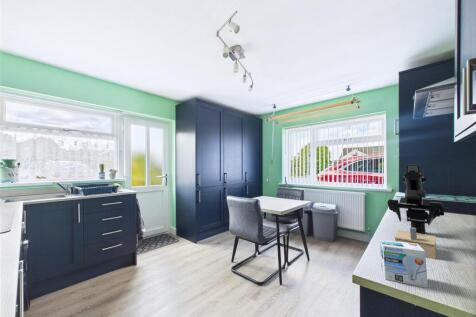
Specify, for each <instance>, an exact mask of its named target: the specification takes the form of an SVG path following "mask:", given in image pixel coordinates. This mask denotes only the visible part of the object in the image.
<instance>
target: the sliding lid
mask: <svg viewBox="0 0 476 317" xmlns="http://www.w3.org/2000/svg"><path fill="white" fill-rule="evenodd" d="M395 238H396V239H402V240H407V241H413V242H418V243H424V244H429V245H435V242H436V241H437V237H436V235H432V234H427V235H426V234H420V233H416V228H413V227H411V226H410V228H409V231H407V230H406V231H405V230H401V229H399V230H398V231H397V232H396V233H395V235H394V238H393V239H395ZM436 243H437V242H436Z"/></svg>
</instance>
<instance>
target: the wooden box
mask: <svg viewBox="0 0 476 317" xmlns="http://www.w3.org/2000/svg"><path fill="white" fill-rule="evenodd" d="M394 239H395V240H394V241H397V242H406V243H415V244H418V245H419V246H420V247H421V248H422V249H423V250H424V251H425V254H426V258H429V259H434V260H436V259H437V242H435V245H429V244H424V243H418V242H413V241H407V240H402V239H396V238H394Z"/></svg>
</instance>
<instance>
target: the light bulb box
mask: <svg viewBox="0 0 476 317" xmlns="http://www.w3.org/2000/svg"><path fill="white" fill-rule="evenodd" d="M379 246H380V247H379V248H380V261H381V262H380V264H381V272H382V274H383V277H384V279H385V280H386V281H392V282H398V283H402V284H407V285H411V286H416V287H422V288H426V289H428V288H429V286H428V284H429V283H428V272H427V271H428V269H427V259H426V258H427V257H426V254H425V251H424V250H423V249H422V248H421V247H420V246H419V245H418V244H415V243H406V242H397V241H395V240H387V239H379Z"/></svg>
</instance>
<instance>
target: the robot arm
mask: <svg viewBox="0 0 476 317" xmlns="http://www.w3.org/2000/svg"><path fill="white" fill-rule="evenodd" d="M403 173H404V176H403V177H402V181H403V183H404V184H405V186H406V189H405V190H404V202H400V201H399V199H391V198H390V199H388V200H387V206H388V208H389V211H392V212H393V213H395V214H396V216H397V218H398V221H399V222H402V215H401V208H402V209H403V208H404V209H406V211H405V213H406V214H405V215H406V221H407V222H410V228H411V227H413V228H416V233H420V234H426V235H428V232H427V231H426V224H427V225H428V226H430V225H431V224H432V222H433V221H434V220H435V219H436V218H438V217H442V216H445V209H444V204H443V203H442V202H435V201H434V202H433V201H432V202H431V201H430V202H429V205H428V204H424V202H423V199H425V198H427V194H426V190H425V189H423V184H424V183H425V182H427V181H426V179H427V178H426V177H424V169H423V168H422V167H420V166H419V164H408V165H406V167H405V168H404V169H403Z"/></svg>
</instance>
